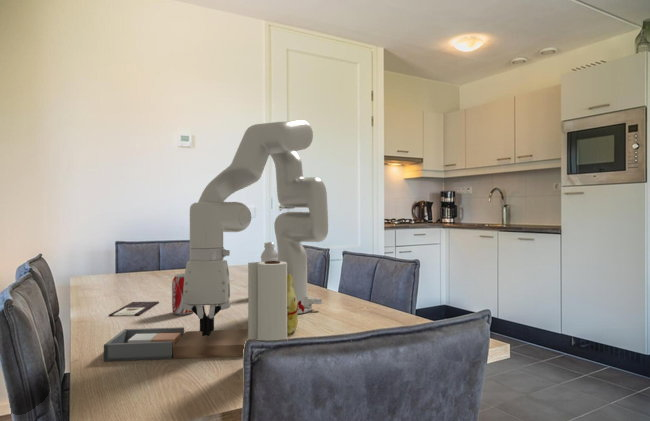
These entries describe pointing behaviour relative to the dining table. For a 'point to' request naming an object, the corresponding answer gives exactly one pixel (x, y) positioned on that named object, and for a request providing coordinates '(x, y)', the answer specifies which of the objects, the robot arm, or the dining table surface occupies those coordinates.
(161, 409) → the dining table surface
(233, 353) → the board
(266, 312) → the paper towel roll
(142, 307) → the chocolate bar
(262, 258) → the plastic bottle
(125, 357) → the tray
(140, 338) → the tile
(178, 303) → the soda can
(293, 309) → the chocolate bunny
